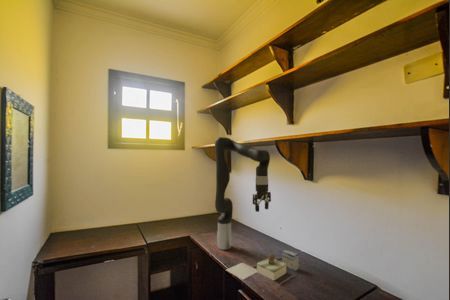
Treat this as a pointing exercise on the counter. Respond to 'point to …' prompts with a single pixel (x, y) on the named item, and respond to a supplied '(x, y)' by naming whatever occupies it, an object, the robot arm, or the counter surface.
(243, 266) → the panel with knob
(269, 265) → the lid
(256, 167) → the robot arm
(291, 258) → the medicine box
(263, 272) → the cream square tray
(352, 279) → the counter surface
